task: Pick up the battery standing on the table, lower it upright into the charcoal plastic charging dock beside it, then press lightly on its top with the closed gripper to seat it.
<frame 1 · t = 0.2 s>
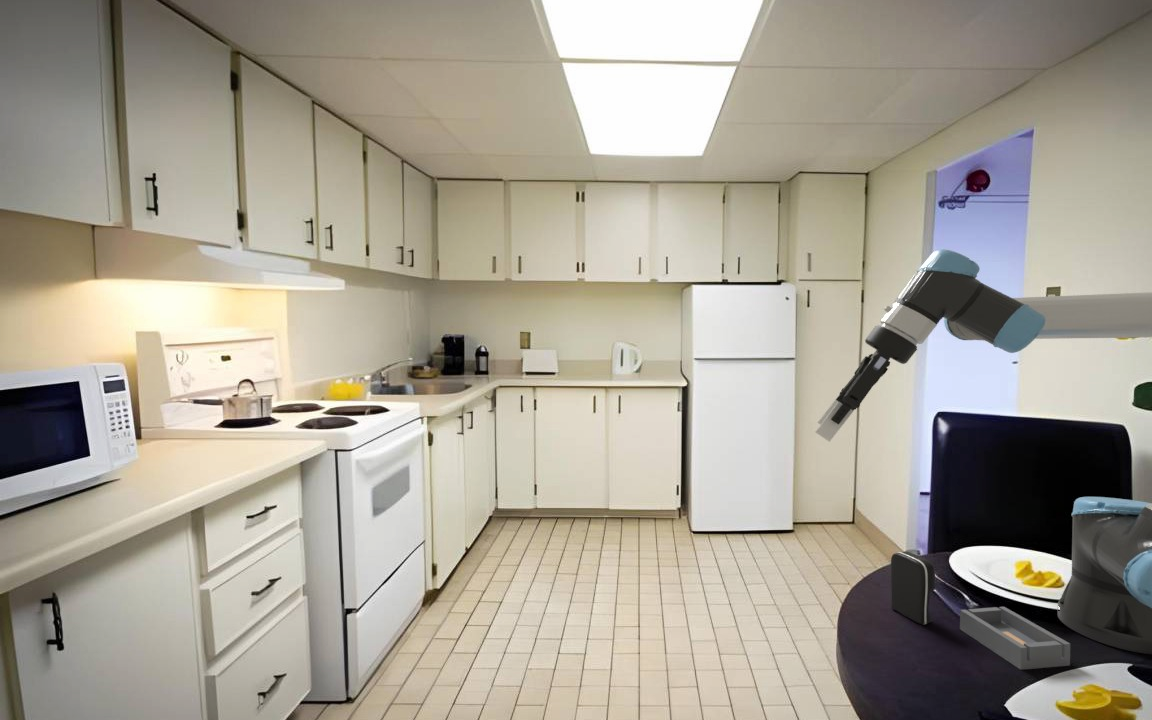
hand: (822, 431, 97), 35 cm above the table, tool tilted 35°, fingers open, 13 cm apart
charging dock: (1011, 646, 88), on the table
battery: (913, 616, 98), on the table
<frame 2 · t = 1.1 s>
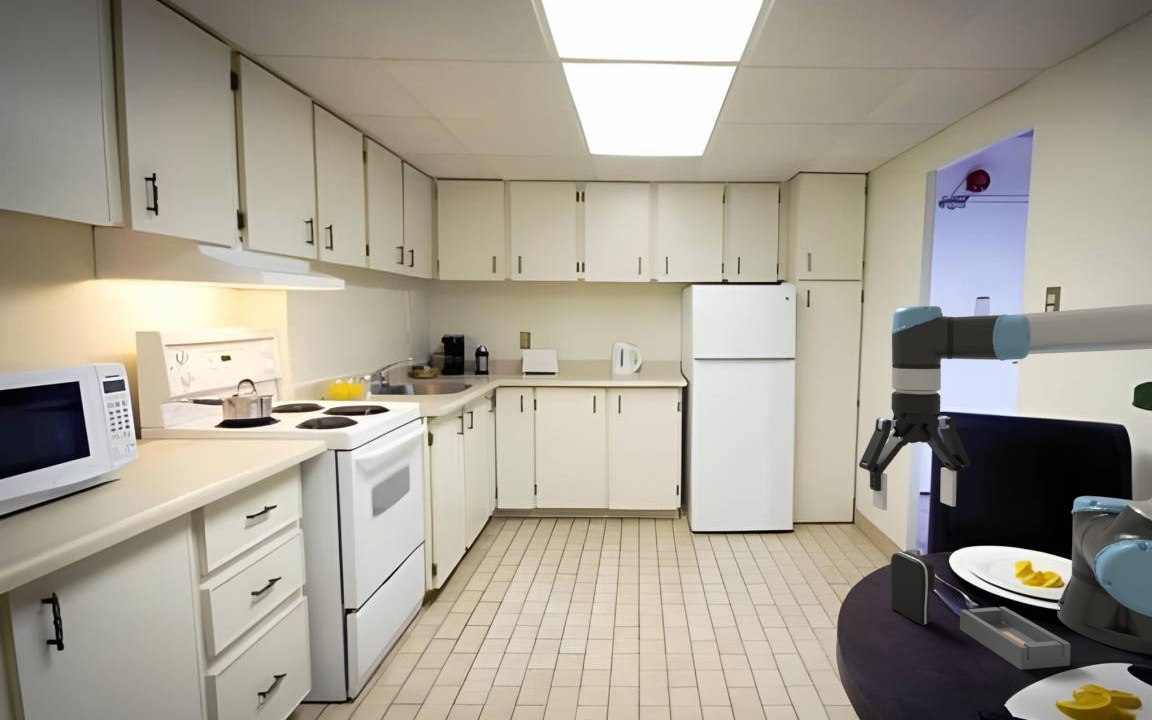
hand: (914, 506, 97), 21 cm above the table, tool pointing down, fingers open, 13 cm apart
nothing on the table moved.
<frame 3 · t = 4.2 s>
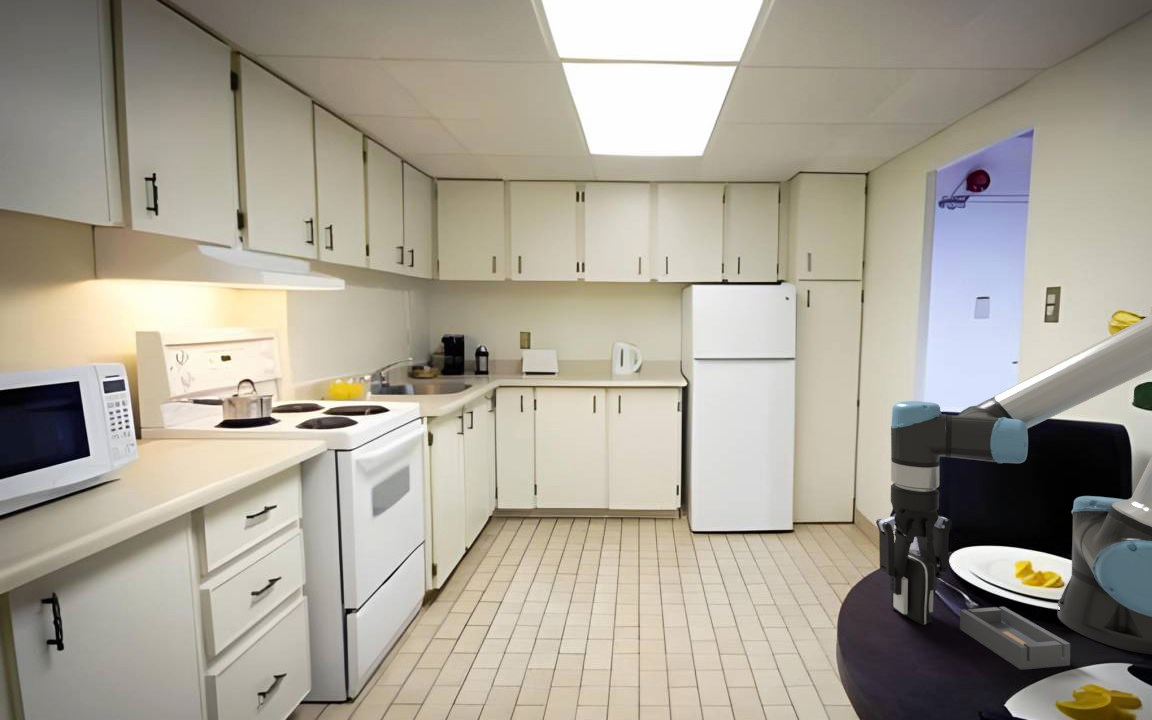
hand: (913, 609, 98), 1 cm above the table, tool pointing down, fingers closed on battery, 4 cm apart
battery: (913, 616, 98), on the table, touching gripper
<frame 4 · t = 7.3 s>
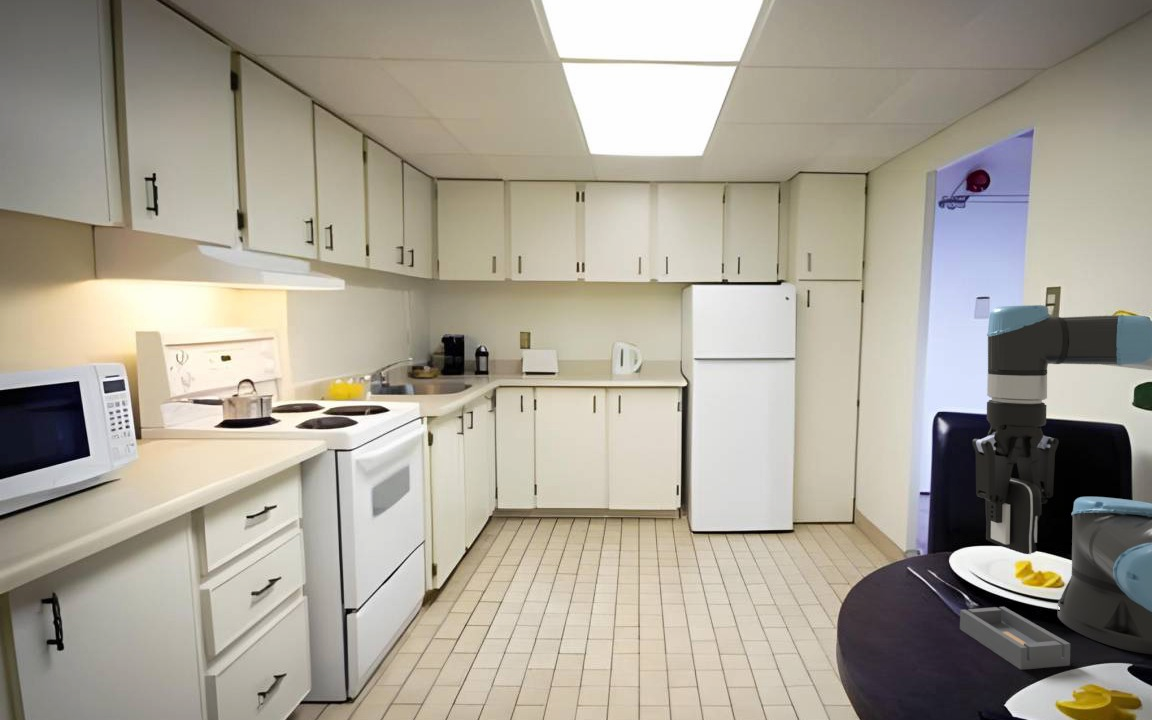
hand: (1013, 540, 87), 18 cm above the table, tool pointing down, fingers closed on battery, 4 cm apart
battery: (1013, 548, 88), point 17 cm above the table, touching gripper
when the fingers open (4 cm above the table, at t = 10.4 s): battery drops 1 cm, resting on charging dock.
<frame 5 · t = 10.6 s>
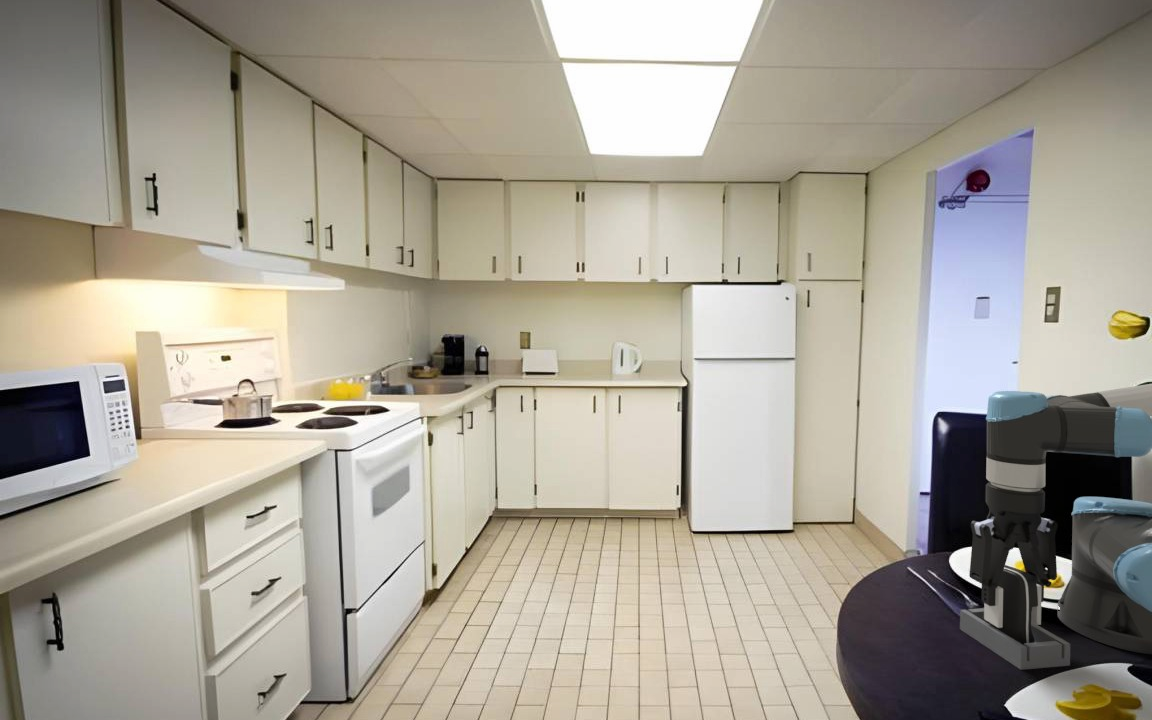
hand: (1012, 621, 88), 4 cm above the table, tool pointing down, fingers open, 6 cm apart
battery: (1012, 638, 88), point 1 cm above the table, touching charging dock
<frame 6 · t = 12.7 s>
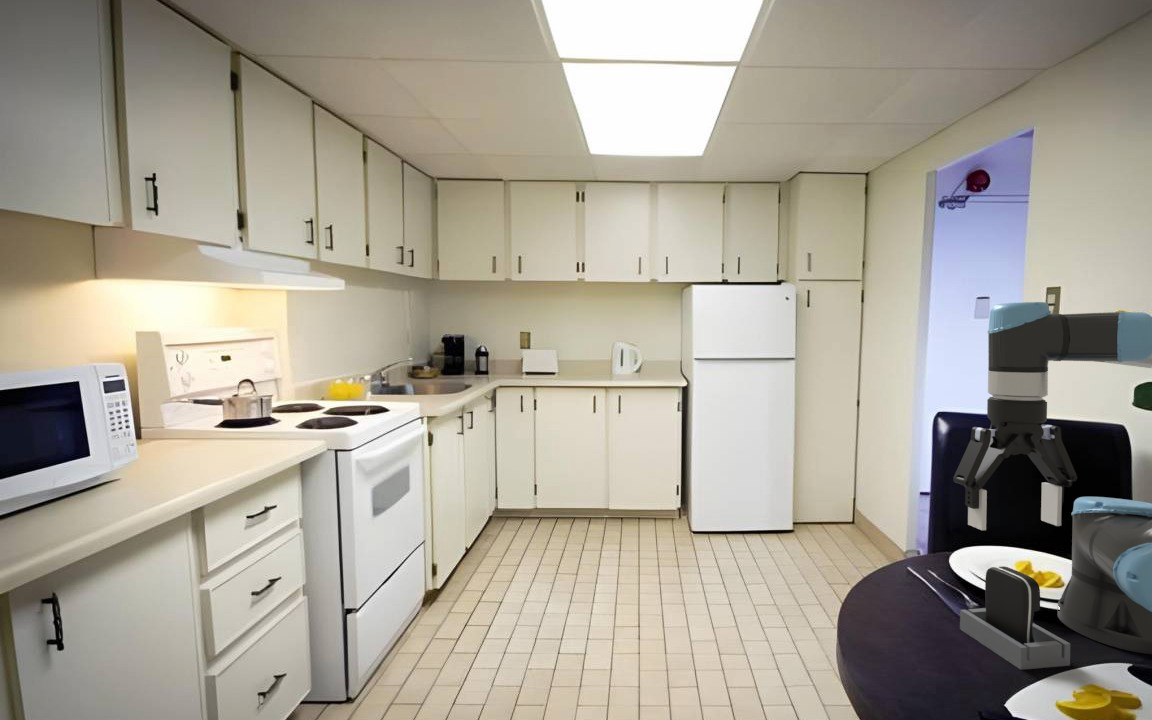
hand: (1014, 525, 87), 21 cm above the table, tool pointing down, fingers open, 13 cm apart
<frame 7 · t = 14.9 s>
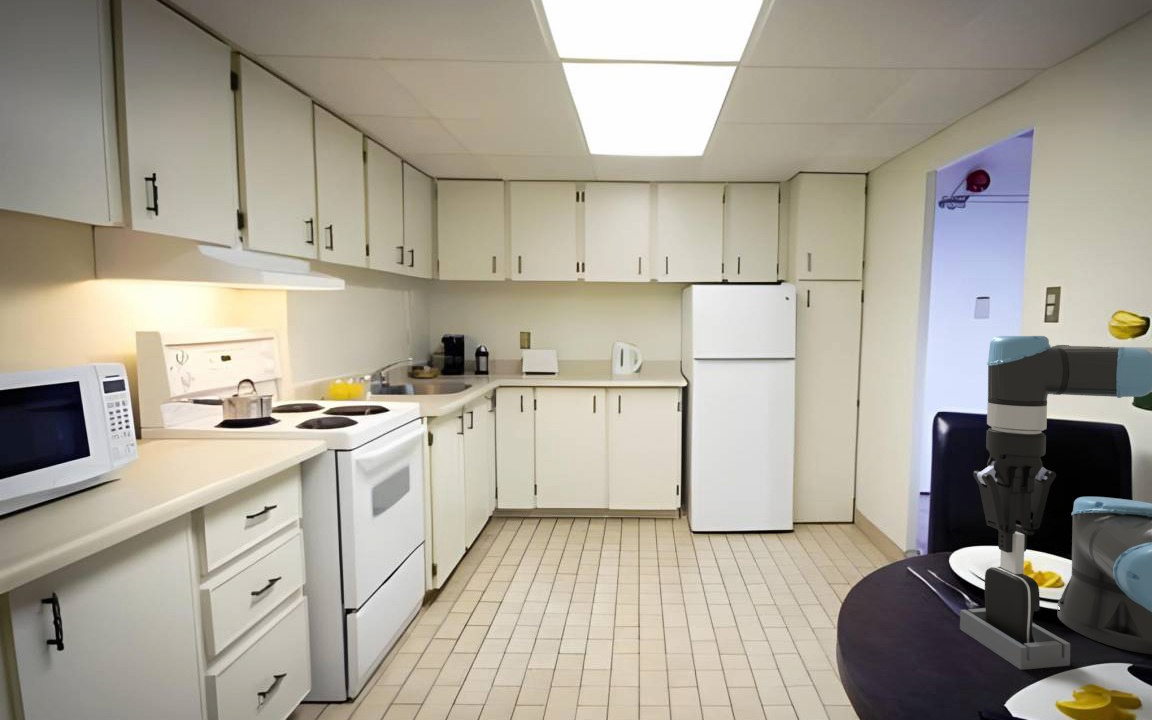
hand: (1011, 570, 88), 13 cm above the table, tool pointing down, fingers closed
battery: (1012, 639, 88), point 1 cm above the table, touching charging dock, gripper
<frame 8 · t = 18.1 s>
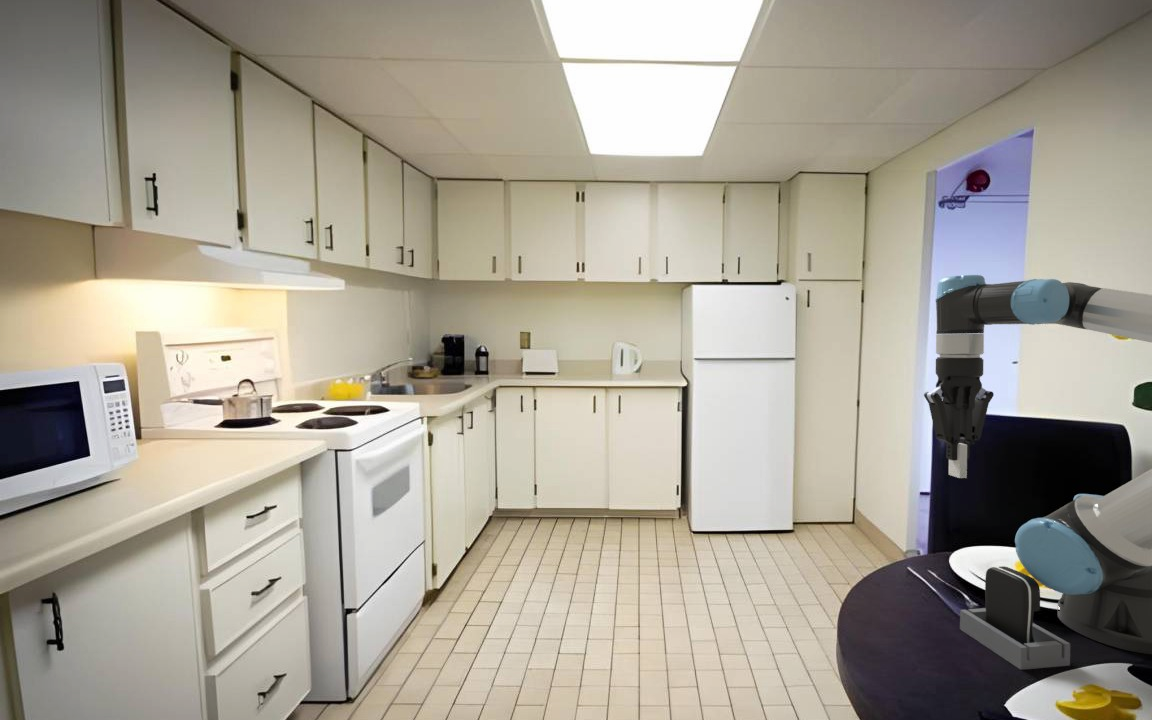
hand: (957, 476, 103), 24 cm above the table, tool pointing down, fingers closed
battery: (1012, 639, 88), point 1 cm above the table, touching charging dock
at the end: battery 0.2 cm off-centre on the charging dock, point 1.1 cm above the charging dock's base; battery tilted 0°; the gripper is holding nothing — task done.
